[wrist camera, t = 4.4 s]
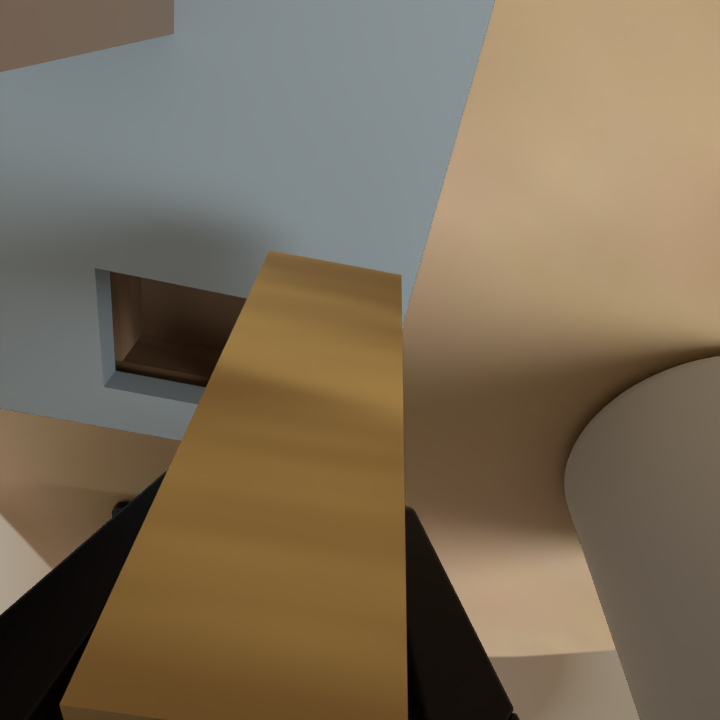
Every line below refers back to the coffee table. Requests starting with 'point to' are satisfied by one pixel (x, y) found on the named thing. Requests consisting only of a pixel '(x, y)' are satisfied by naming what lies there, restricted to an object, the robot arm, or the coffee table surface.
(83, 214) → the grey plate with hole
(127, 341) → the brown open tray
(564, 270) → the coffee table surface
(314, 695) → the golden wooden block
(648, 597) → the cylinder vase
